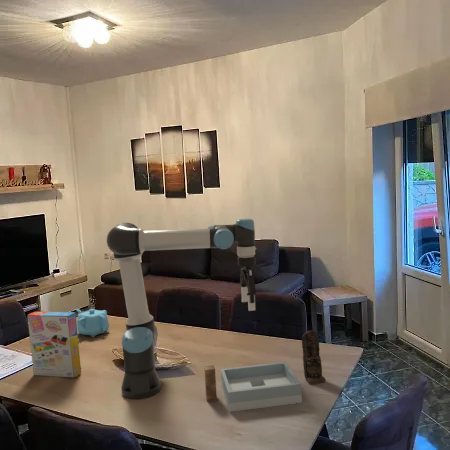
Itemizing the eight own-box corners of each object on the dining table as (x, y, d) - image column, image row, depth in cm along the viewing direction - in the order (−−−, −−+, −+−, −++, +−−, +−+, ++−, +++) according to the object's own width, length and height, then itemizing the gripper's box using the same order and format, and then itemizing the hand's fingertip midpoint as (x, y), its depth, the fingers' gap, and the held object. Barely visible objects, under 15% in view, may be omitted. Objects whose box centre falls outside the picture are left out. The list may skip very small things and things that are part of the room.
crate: (229, 411, 158) (228, 392, 157) (221, 386, 178) (220, 369, 177) (301, 402, 162) (301, 383, 161) (286, 378, 181) (285, 361, 181)
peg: (207, 401, 166) (205, 370, 165) (206, 397, 170) (204, 366, 169) (216, 400, 167) (215, 368, 166) (215, 396, 170) (213, 365, 169)
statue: (310, 385, 174) (308, 334, 172) (302, 378, 181) (300, 329, 179) (326, 382, 176) (324, 332, 174) (317, 375, 183) (315, 326, 181)
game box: (81, 373, 198) (76, 312, 195) (74, 378, 193) (68, 315, 190) (41, 370, 204) (35, 310, 201) (32, 375, 198) (26, 314, 196)
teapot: (111, 327, 260) (109, 304, 258) (107, 336, 243) (105, 312, 242) (78, 330, 257) (76, 307, 256) (72, 340, 241) (69, 315, 240)
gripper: (262, 260, 178) (264, 313, 180) (248, 251, 203) (250, 297, 205) (243, 261, 177) (245, 315, 179) (232, 252, 201) (234, 299, 203)
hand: (248, 306), depth 192 cm, fingers open, 13 cm apart
